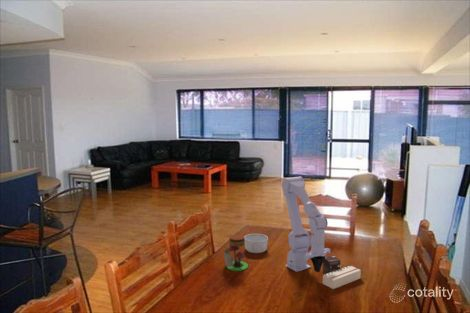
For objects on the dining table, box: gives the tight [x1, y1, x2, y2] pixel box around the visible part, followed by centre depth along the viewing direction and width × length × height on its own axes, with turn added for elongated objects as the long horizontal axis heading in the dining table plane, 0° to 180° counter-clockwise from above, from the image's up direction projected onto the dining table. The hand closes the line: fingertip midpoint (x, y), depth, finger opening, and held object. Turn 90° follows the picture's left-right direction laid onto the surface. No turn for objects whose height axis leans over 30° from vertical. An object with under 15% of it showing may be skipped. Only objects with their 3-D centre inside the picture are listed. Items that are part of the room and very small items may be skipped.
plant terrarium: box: [224, 234, 249, 272], centre depth 186 cm, size 12×13×15 cm
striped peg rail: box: [322, 265, 362, 290], centre depth 170 cm, size 18×6×4 cm, turn 124°
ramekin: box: [244, 233, 269, 254], centre depth 208 cm, size 13×13×7 cm
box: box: [322, 255, 341, 275], centre depth 178 cm, size 6×6×7 cm
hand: (317, 271), depth 172 cm, fingers closed
